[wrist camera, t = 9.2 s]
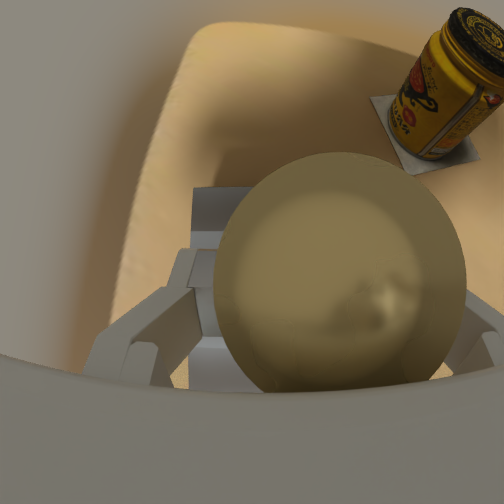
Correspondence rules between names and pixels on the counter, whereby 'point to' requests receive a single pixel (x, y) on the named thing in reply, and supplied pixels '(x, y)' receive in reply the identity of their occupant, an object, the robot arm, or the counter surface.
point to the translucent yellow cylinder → (339, 277)
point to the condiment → (446, 94)
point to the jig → (214, 348)
